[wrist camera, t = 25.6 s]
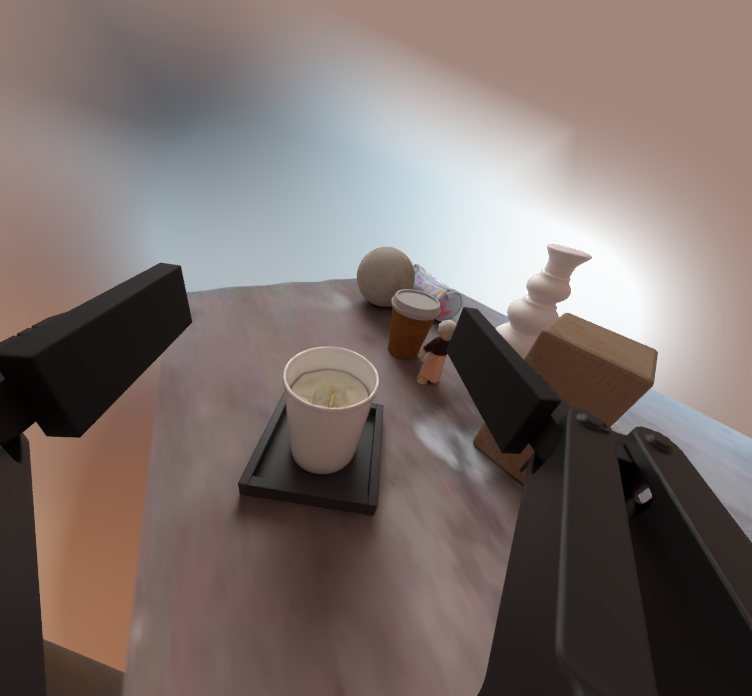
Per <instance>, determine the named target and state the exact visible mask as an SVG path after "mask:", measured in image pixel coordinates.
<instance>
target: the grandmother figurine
mask: <svg viewBox="0 0 752 696" xmlns="http://www.w3.org/2000/svg"><path fill="white" fill-rule="evenodd" d="M456 325H457V324H456V323H455V322H453V321H452V320H446V321H442V322H441V323H440V324H439V328H438V331H439V335H440V337H437V338H435V339H433V340H432V341H431V342H429V343H428V344H427V345H426V346H424V347H423V349H422V350H421V352H420V353H418V357H419V358H423V356H424V355H426V354H427V353H428V352H430V353H429V356H428V357H427V358H426V360H425V361H424V363H423V365H422V368H421V370H420V372H419V374H418V375H417V382H418V383H419V384H421V385H426V384H427V380H429V381H430V382H431V383H434V384H436V383H438V382H439V379H440V375H441V372H442V368H443V365H444V361H445V357H446V356H447V352H446V350H447V347H448V345H449V342H450V340H451V337H452V335H453V332H454V330H455V327H456Z"/></svg>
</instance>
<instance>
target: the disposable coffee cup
mask: <svg viewBox="0 0 752 696" xmlns="http://www.w3.org/2000/svg"><path fill="white" fill-rule="evenodd" d="M391 302H392V317H391V326H390V336H389V345H388V349H389V351H390V352H391V353H392V354H393V355H394V356H396V357H398V358H402V359H413V358H415V357H416V356H417V354H418V352H419V350H420V348H421V346H422V344H423V342H424V340H425V338H426V336H427V334H428V332H429V330H430V328H431V326H432V324H433V322H434V320H435V318H436V317H437V316H438V315H439V314H440V312H441V311H440V303H439V301H438V300H437V299H436V298H435V297H433V296H431V295H429V294H427V293H425V292H421V291H417V290H411V289H403V290H399V291H397V292H396V294H395V296H393V297H392V299H391Z"/></svg>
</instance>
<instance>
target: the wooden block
mask: <svg viewBox="0 0 752 696" xmlns="http://www.w3.org/2000/svg"><path fill="white" fill-rule="evenodd" d="M657 355H658V352H657V351H656V350H655V349H653V348H650V347H648V346H646V345H643V344H641V343H638V342H636V341H634V340H631V339H629V338H627V337H624V336H622V335H620V334H617V333H615V332H612V331H610V330H608V329H605V328H603V327H601V326H598V325H596V324H593V323H591V322H589V321H586V320H584V319H582V318H579V317H577V316H574V315H572V314H570V313H565V314H563V315H562V316H561V317H559V318H558V319H557V320H555V321H554V322H553V323H551V324H550V325H549V326H547V327H546V328H545V329H543V330H542V331H541V332H540V334H539V335H538V337H537V338H536V340H535V342H534V343H533V345H532V346H531V348H530V350H529V351H528V353H527V355H526V356H525V358H524V360H525V361H526V362H527V363H529V364H530V365H531V366H533V367H534V368H535V369H536V370H537V371H538V372H539V373H540V374H541V375H542V376H543V377H542V378H545V379H546V380H547V382H548V383H549V385H551V386H552V387H553V388H554V389H555V390H556V391H557V392H558V393H559V394H560V395H561V396H562V398H563V399H564V400H565V401H566V402H567V403H568V404H569V405H570V406H571V407H572V408H574V407H576V408H582V409H584V410H587V411H589V412H591V413H593V414H595V415H596V416H598V417H599V418H601V419H602V420H603V421H605V422H606V423H607V425H608V426H609V427H611V426H612V425H613V424H614V423H615V422H616V421H617V420H618V419H619V418H620V417H621V416H622V415H623V414H624V413H625V412H626V411H627V410H628V409H629V408H630V407H631V406H633V405H634V404H635V403H636V402H637V401H638V400H639V399H640V398H641V397H642V396H643V395H644V394H645V393H646V392H647V391H648V390H649V389H650V388H651V387H652V386H653V384H654V378H655V371H656V363H657ZM473 444H474V445H475V446H476V447H477V448H479V449H480V450H481V451H482V452H484V453H485V454H486V455H487V456H489V457H490V458H491V459H492V460H493V461H495V462H496V463H497V464H498V465H500V466H501V467H502V468H503V469H505V470H506V471H507V472H508V473H510V474H511V475H512V476H513V477H515V478H516V479H517V480H518V481H519V482H521V483H522V484H523V485H524V482H525V477H526V472H527V469H525V470H524V471H523V472H520V471H519V470H520V469H521V467H522V466H523V465H524V463H525V462H526V461H527V460H528V459H529V457H530V456H531V455H532V454H533V453H534V450H533V449H532V447H531V446H530V444H528V445H527V446H526V447H525V449H524V450H523V451H522V453H521V454H505V453H501V451H500V449H499V447H498V445H497V443H496V442H495V440H494V438H493V436H492V434H491V432H490V431H489V429H488V427H487V425H486V423H485V422H484V424H483V426H482V427H481V429H480V430H479V432H478V434H477V435H476V437H475V438H474V440H473Z"/></svg>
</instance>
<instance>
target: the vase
mask: <svg viewBox="0 0 752 696" xmlns="http://www.w3.org/2000/svg"><path fill="white" fill-rule="evenodd" d="M547 248H548V253H549V261H548V263H547V265H546V267H545V269H544V270H541V272H540V273H539V274H537V275H535V276H533V277H531V278H530V279H529V280H528V282H527V290H528V292H529V294H528V295H525V296H524V297H523V298H521V299H518V300H516V301H514V302H512V303H511V304H510V306H509V308H508V311H507V314H508V317H509V320H510V322H508V323H505V324H502V325H500V326H498V327H497V328H496V330H497V331H498V332H499V333H500V334H501V335H502V337H503V338H504V339H505V340H506V341H507V342H508V343H509V344H510V345H511V346H512V347H513V348H514V350H515V351H516V352H517V353H518V354H519V355H520V356H521V357H522V358H523V359H524V358H525V356H526V355H527V353H528V351H529V350H530V348H531V346H532V345H533V343H534V342H535V340H536V338H537V337H538V335H539V334H540V332H541V331H542V330H543V329H545V328H546V327H547V326H549V325H550V324H551V323H553V322H554V321H555V320H557V319H558V318H559V317H558V314H557V312H556V309H557V307H556V305H555V304H556V303H558V302H561V301H564V300H565V299H567V298H568V297H569V295H570V293H571V289H570V286H569V281H570V278H569V277H570V275H571V274H572V272H573V270H574V269H575V268H576V267H577V266H578V265H580V264H582V263H584V262H586V261H588V260H590V259H591V258H592V257H591V256H590V255H588V254H587V253H584V252H581V251H579V250H576V249H572V248H568V247H564V246H560V245H554V244H550V245H548V246H547Z"/></svg>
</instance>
